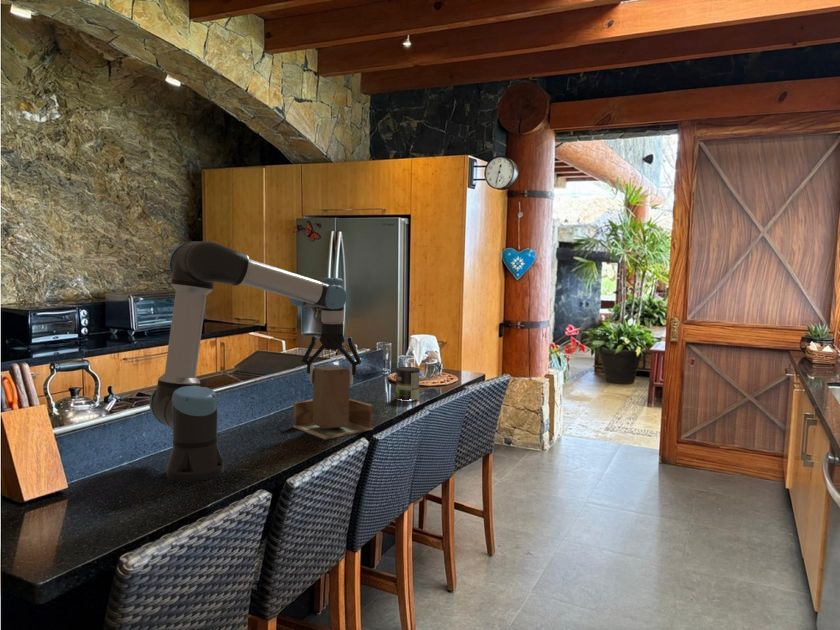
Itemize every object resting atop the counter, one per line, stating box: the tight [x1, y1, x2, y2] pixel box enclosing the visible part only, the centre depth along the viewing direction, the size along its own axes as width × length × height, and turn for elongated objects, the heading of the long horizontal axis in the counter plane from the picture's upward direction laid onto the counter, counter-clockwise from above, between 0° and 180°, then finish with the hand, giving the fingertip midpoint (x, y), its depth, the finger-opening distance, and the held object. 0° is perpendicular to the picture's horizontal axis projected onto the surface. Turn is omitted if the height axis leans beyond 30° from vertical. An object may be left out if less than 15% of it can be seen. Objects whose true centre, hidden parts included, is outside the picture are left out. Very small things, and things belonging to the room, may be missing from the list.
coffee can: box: [395, 366, 421, 400], centre depth 275 cm, size 10×10×14 cm
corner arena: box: [293, 397, 374, 440], centre depth 226 cm, size 20×20×9 cm
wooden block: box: [312, 365, 350, 429], centre depth 222 cm, size 10×10×20 cm
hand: (331, 383), depth 222 cm, fingers closed on wooden block, 13 cm apart
